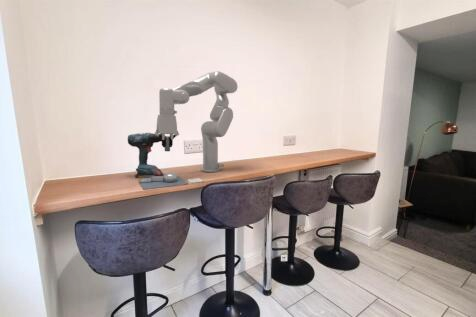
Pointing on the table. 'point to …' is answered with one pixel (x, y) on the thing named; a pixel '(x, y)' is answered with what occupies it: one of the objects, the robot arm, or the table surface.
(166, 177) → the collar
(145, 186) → the board
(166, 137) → the key
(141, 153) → the power drill
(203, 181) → the pad
